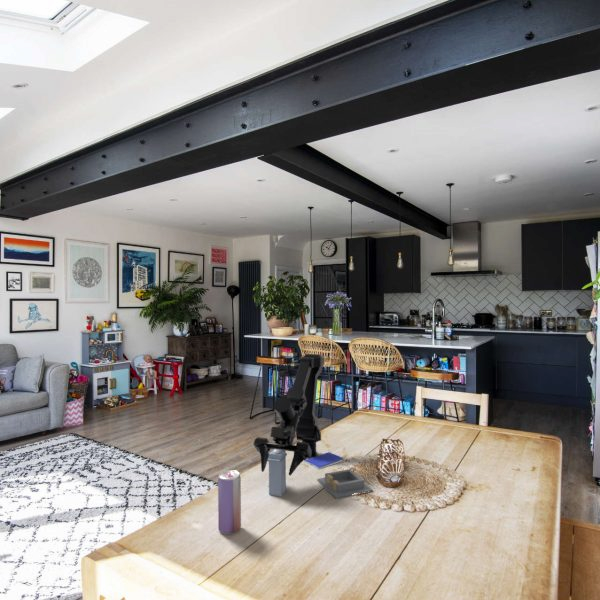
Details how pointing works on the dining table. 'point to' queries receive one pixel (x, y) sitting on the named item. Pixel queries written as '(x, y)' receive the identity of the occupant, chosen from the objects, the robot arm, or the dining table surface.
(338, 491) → the chassis
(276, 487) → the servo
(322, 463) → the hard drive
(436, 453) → the dining table surface
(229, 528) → the beverage can
